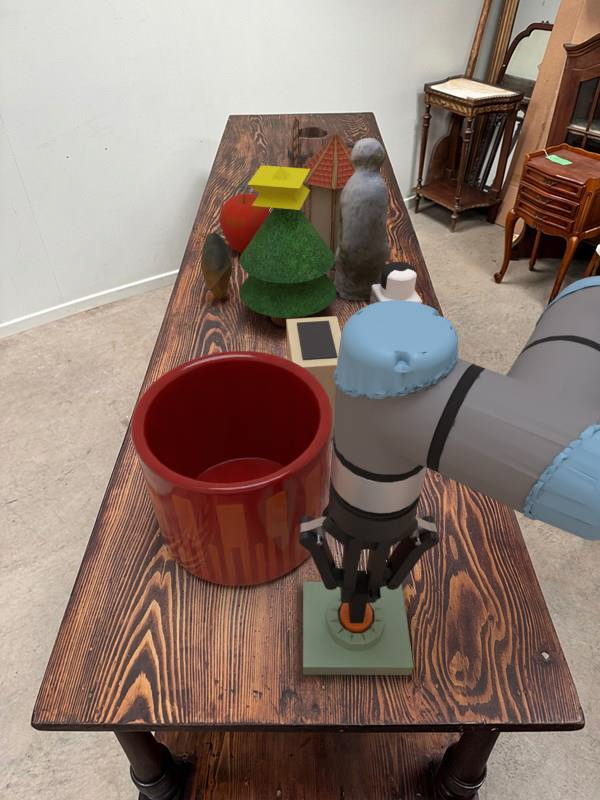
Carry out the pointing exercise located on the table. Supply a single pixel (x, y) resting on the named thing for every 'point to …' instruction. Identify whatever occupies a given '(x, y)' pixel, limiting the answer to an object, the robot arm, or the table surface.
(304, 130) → the tankard
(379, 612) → the control block
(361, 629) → the button
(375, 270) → the sculpture
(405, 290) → the container
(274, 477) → the planter
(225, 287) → the decorative stone
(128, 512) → the table surface
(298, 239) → the decorative tree
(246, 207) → the apple
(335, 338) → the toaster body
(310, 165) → the miniature windmill
